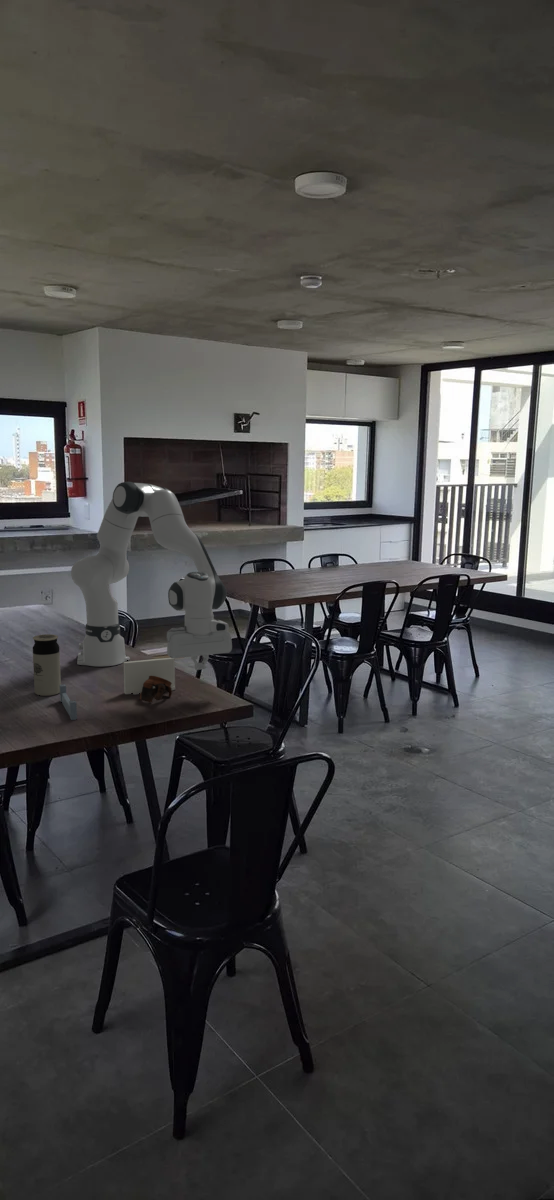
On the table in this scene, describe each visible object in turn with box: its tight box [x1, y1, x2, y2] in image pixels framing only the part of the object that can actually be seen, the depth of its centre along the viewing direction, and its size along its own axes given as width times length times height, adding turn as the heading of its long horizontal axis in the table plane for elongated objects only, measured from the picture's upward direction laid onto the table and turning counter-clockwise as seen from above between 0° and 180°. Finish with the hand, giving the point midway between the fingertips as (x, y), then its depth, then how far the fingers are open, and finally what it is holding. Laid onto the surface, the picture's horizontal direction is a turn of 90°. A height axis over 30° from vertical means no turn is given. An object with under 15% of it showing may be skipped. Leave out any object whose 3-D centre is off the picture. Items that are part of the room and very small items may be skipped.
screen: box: [123, 657, 176, 695], centre depth 254 cm, size 4×16×10 cm, turn 113°
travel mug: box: [32, 633, 62, 697], centre depth 250 cm, size 8×8×18 cm
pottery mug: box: [139, 676, 173, 703], centre depth 245 cm, size 12×10×8 cm
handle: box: [59, 683, 78, 721], centre depth 235 cm, size 20×2×5 cm, turn 24°
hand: (200, 669), depth 249 cm, fingers closed
